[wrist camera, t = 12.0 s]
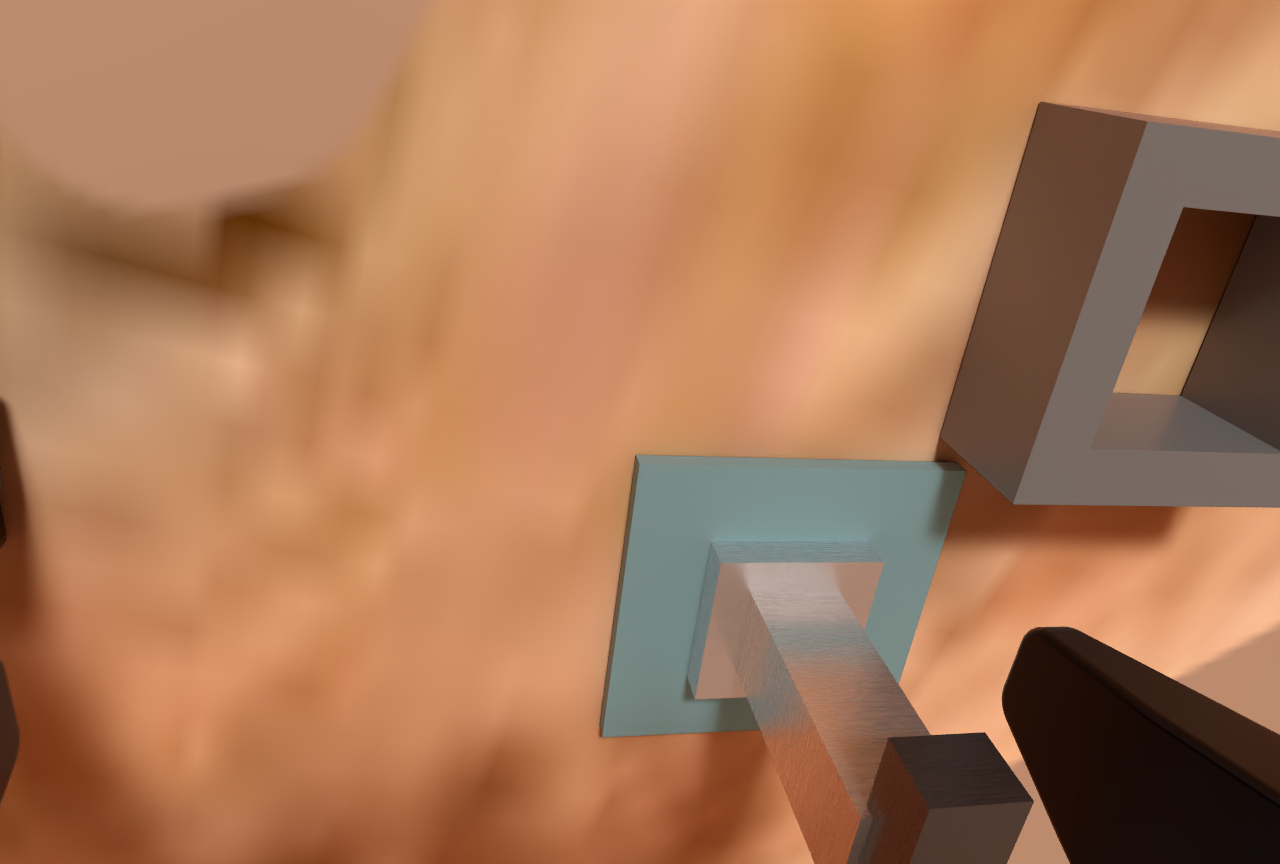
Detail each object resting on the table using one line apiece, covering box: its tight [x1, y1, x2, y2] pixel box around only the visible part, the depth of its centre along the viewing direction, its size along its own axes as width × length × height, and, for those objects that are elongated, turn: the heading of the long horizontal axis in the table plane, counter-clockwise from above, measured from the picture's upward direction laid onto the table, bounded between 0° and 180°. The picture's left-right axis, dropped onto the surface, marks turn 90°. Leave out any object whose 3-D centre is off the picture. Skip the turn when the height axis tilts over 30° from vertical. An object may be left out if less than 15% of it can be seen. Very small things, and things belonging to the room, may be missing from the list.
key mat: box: [600, 455, 967, 737], centre depth 25 cm, size 9×9×1 cm
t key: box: [687, 541, 1034, 864], centre depth 20 cm, size 4×6×9 cm
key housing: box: [940, 102, 1280, 508], centre depth 21 cm, size 8×8×4 cm
